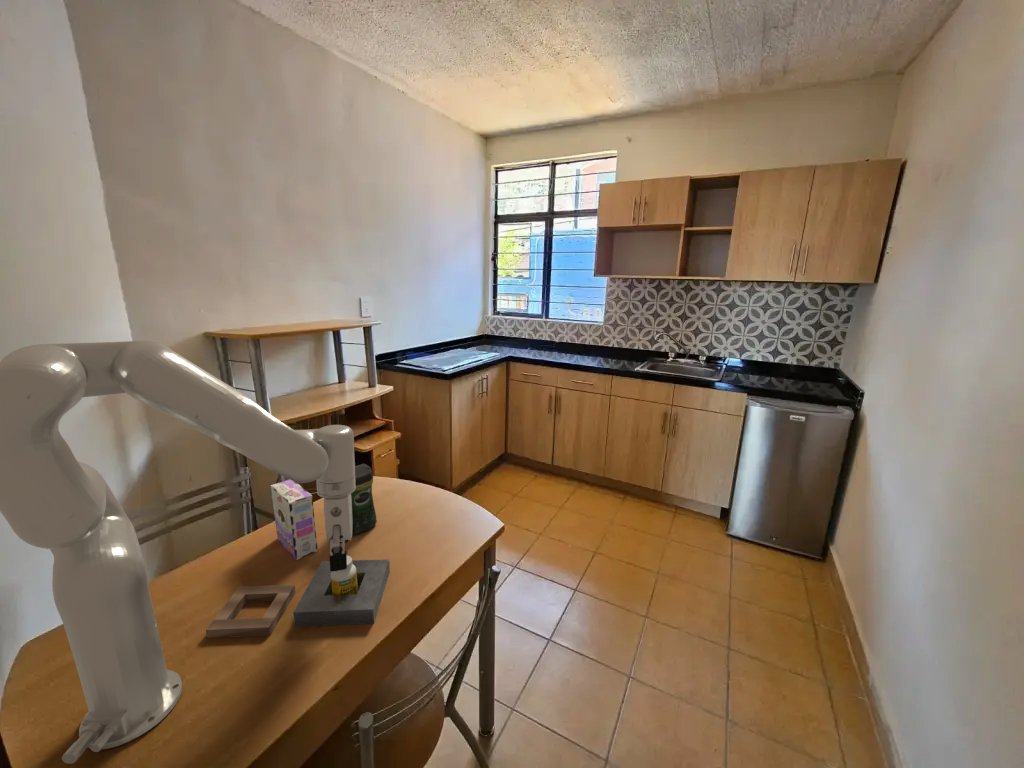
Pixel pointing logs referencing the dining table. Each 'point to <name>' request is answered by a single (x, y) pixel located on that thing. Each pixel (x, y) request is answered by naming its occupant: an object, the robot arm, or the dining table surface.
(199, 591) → the dining table surface
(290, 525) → the candy box
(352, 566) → the supplement bottle
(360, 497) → the coffee jar
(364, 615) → the block
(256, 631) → the walnut frame
